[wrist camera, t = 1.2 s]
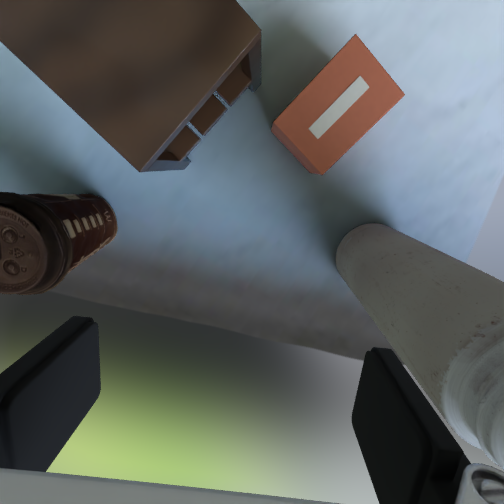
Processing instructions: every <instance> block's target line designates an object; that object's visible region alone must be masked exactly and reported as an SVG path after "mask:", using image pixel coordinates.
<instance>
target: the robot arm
mask: <svg viewBox="0 0 504 504" xmlns="http://www.w3.org/2000/svg"><path fill="white" fill-rule="evenodd" d="M100 390H101V382H100V358H99V336H98V324H97V323H96V322H94V321H93V319H92V318H90V317H80V316H73V317H71V318H70V319H69V320H68V321H66V322H65V323H64V324H63V325H61V326H60V327H59V328H58V329H56V330H55V331H54V332H52V333H51V334H50V335H49V336H47V337H46V338H45V339H44V340H42V341H41V342H40V343H39V344H37V345H36V346H35V347H34V348H32V349H31V350H30V351H29V352H27V353H26V354H25V355H24V356H22V357H21V358H20V359H19V360H17V361H16V362H15V363H14V364H12V365H11V366H10V367H9V368H7V369H6V370H5V371H3V372H2V373H1V374H0V504H339V503H330V502H321V501H313V500H304V499H295V498H286V497H278V496H269V495H260V494H251V493H242V492H233V491H232V492H231V491H223V490H214V489H205V488H195V487H186V486H177V485H167V484H158V483H149V482H139V481H128V480H119V479H108V478H99V477H89V476H80V475H69V474H60V473H49V472H46V471H47V469H48V468H49V466H50V465H51V463H52V462H53V460H54V459H55V458H56V456H57V455H58V454H59V452H60V451H61V449H62V448H63V447H64V445H65V444H66V442H67V441H68V440H69V438H70V437H71V435H72V434H73V432H74V431H75V430H76V428H77V427H78V425H79V424H80V422H81V421H82V420H83V418H84V417H85V416H86V414H87V413H88V411H89V410H90V409H91V407H92V406H93V404H94V403H95V401H96V400H97V398H98V396H99V394H100ZM352 425H353V428H354V431H355V434H356V437H357V440H358V443H359V446H360V449H361V451H362V454H363V457H364V460H365V463H366V466H367V469H368V472H369V475H370V477H371V480H372V483H373V486H374V489H375V492H376V495H377V498H378V501H379V504H504V472H502V471H501V470H498V469H496V468H494V467H492V466H489V465H485V464H479V463H473V464H471V463H470V461H469V460H468V459H467V457H466V456H465V454H464V453H463V450H462V449H461V447H460V446H459V444H458V443H457V442H456V440H455V439H454V438H453V436H452V435H451V433H450V432H449V430H448V429H447V427H446V426H445V425H444V423H443V422H442V420H441V419H440V418H439V416H438V415H437V413H436V412H435V411H434V409H433V408H432V406H431V405H430V403H429V402H428V401H427V399H426V398H425V396H424V395H423V393H422V392H421V390H420V389H419V388H418V386H417V385H416V384H415V382H414V381H413V379H412V378H411V376H410V375H409V373H408V372H407V371H406V369H405V368H404V366H403V365H402V363H401V362H400V361H399V359H398V358H397V356H396V355H395V353H394V352H393V351H392V350H391V349H386V348H377V347H373V348H372V350H371V351H367V352H366V355H365V359H364V364H363V368H362V373H361V377H360V381H359V385H358V390H357V395H356V399H355V403H354V408H353V412H352Z"/></svg>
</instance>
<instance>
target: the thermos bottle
mask: <svg viewBox="0 0 504 504" xmlns="http://www.w3.org/2000/svg"><path fill="white" fill-rule="evenodd" d="M336 266H337V269H338V272H339V274H340V275H341V277H342V278H343V279H344V281H345V282H346V284H347V285H348V286H349V288H350V289H351V290H352V292H353V293H354V295H355V296H356V297H357V299H358V300H359V301H360V303H361V304H362V306H363V307H364V308H365V310H366V311H367V312H368V314H369V315H370V317H371V318H372V319H373V321H374V322H375V323H376V325H377V326H378V328H379V329H380V330H381V332H382V333H383V334H384V336H385V337H386V339H387V340H388V341H389V343H390V344H391V346H392V347H393V348H394V350H395V351H396V352H397V354H398V355H399V357H400V358H401V359H402V361H403V362H404V363H405V365H406V366H407V367H408V369H409V370H410V372H411V373H412V374H413V376H414V377H415V379H416V380H417V381H418V383H419V384H420V385H421V387H422V388H423V390H424V391H425V392H426V394H427V395H428V396H429V398H430V399H431V400H432V402H433V403H434V405H435V406H436V407H437V409H438V410H439V412H440V413H441V414H442V416H443V417H444V419H445V420H446V421H447V423H448V424H449V425H450V427H451V428H452V430H454V432H455V433H456V434H458V435H459V436H460V437H461V438H462V439H463V440H464V441H466V442H468V443H469V444H472V445H473V446H475V447H476V448H479V449H482V450H483V451H484V452H485V454H486V456H487V457H489V458H490V459H491V460H492V461H493V462H494V463H495V464H496V465H498V466H500V467H501V468H502V469H503V470H504V282H502V281H500V280H499V279H496V278H495V277H493V276H491V275H489V274H487V273H484V272H482V271H480V270H478V269H476V268H474V267H472V266H470V265H468V264H466V263H464V262H462V261H460V260H457V259H455V258H453V257H451V256H449V255H447V254H445V253H443V252H441V251H439V250H437V249H434V248H432V247H430V246H428V245H426V244H424V243H422V242H420V241H418V240H416V239H414V238H411V237H409V236H407V235H405V234H403V233H401V232H399V231H397V230H395V229H393V228H391V227H388V226H386V225H383V224H377V223H369V224H364V225H361V226H358V227H356V228H354V229H353V230H351V231H350V232H349V233H348V234H347V235H345V236H344V238H343V239H342V241H341V242H340V244H339V246H338V248H337V252H336Z"/></svg>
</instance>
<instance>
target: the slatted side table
mask: <svg viewBox="0 0 504 504" xmlns="http://www.w3.org/2000/svg"><path fill="white" fill-rule="evenodd" d="M0 41H1V42H2V43H3V44H4V45H5V46H6V47H7V48H8V49H9V50H10V51H11V52H12V53H13V54H14V55H15V56H17V57H18V58H19V59H20V60H21V61H22V62H23V63H24V64H25V65H26V66H27V67H28V68H29V69H30V70H31V71H32V72H34V73H35V74H36V75H37V76H38V77H39V78H40V79H41V80H42V81H43V82H44V83H45V84H46V85H47V86H48V87H49V88H51V89H52V90H53V91H54V92H55V93H56V94H57V95H58V96H59V97H60V98H61V99H62V100H63V101H64V102H65V103H66V104H68V105H69V106H70V107H71V108H72V109H73V110H74V111H75V112H76V113H77V114H78V115H79V116H80V117H81V118H82V119H83V120H85V121H86V122H87V123H88V124H89V125H90V126H91V127H92V128H93V129H94V130H95V131H96V132H97V133H98V134H99V135H100V136H102V137H103V138H104V139H105V140H106V141H107V142H108V143H109V144H110V145H111V146H112V147H113V148H114V149H115V150H116V151H117V152H118V153H120V154H121V155H122V156H123V157H124V158H125V159H126V160H127V161H128V162H129V163H130V164H131V165H132V166H133V167H134V168H135V169H137V170H138V171H139V172H148V171H166V170H183V169H185V168H186V167H187V166H188V165H189V164H190V162H191V161H190V160H189V159H188V158H187V157H186V156H187V155H188V154H189V153H190V152H191V151H192V150H193V149H194V147H195V146H196V145H197V144H198V143H199V142H200V141H201V138H200V137H199V136H198V135H197V134H196V133H195V132H194V131H193V130H192V129H191V128H190V127H189V126H188V125H187V123H188V122H190V123H191V124H192V125H193V126H194V127H195V128H196V129H197V130H198V131H199V132H200V133H201V134H202V135H204V136H205V135H206V134H207V133H208V132H209V130H210V129H211V128H212V127H213V126H214V125H215V124H216V123H217V121H218V120H219V119H220V118H221V117H222V116H223V115H224V113H225V112H226V111H227V109H226V107H225V106H224V105H223V104H222V103H221V102H220V101H219V100H218V99H217V98H216V97H215V96H214V95H213V93H214V92H215V91H216V92H217V93H218V94H219V95H220V96H221V97H222V98H223V99H224V100H225V101H226V102H227V103H228V104H229V105H230V106H232V105H233V103H234V102H235V101H236V100H237V99H238V98H239V97H240V95H241V94H242V93H243V92H244V91H245V90H246V89H247V88H249V89H250V90H251V91H252V92H254V91H255V90H256V89H257V88H258V86H259V85H260V84H261V29H260V28H259V27H258V25H257V24H256V23H255V22H254V21H253V20H252V19H251V17H250V16H249V15H248V14H247V13H246V12H245V10H244V9H243V8H242V7H241V6H240V5H239V4H238V2H237V1H236V0H0Z"/></svg>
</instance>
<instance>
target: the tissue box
mask: <svg viewBox="0 0 504 504" xmlns="http://www.w3.org/2000/svg"><path fill="white" fill-rule="evenodd" d="M404 95H405V94H404V93H403V91H402V90H401V89H400V88H399V87H398V85H397V84H396V83H395V82H394V80H393V79H392V78H391V77H390V75H389V74H388V73H387V72H386V70H385V69H384V68H383V67H382V66H381V64H380V63H379V62H378V61H377V59H376V58H375V57H374V56H373V54H372V53H371V52H370V51H369V50H368V48H367V47H366V46H365V45H364V43H363V42H362V41H361V40H360V38H359V37H358V36H357V35H356V34H355V35H354V36H353V37H352V38H351V39H350V40H349V41H348V42H347V43H346V45H345V46H344V47H343V48H342V49H341V50H340V51H339V52H338V53H337V54H336V55H335V56H334V57H333V58H332V60H331V61H330V62H329V63H328V64H327V65H326V66H325V67H324V68H323V69H322V70H321V71H320V72H319V73H318V74H317V76H316V77H315V78H314V79H313V80H312V81H311V82H310V83H309V84H308V85H307V86H306V87H305V88H304V89H303V90H302V92H301V93H300V94H299V95H298V96H297V97H296V98H295V99H294V100H293V101H292V102H291V103H290V104H289V105H288V107H287V108H286V109H285V110H284V111H283V112H282V113H281V114H280V115H279V116H278V117H277V118H276V119H275V120H274V122H273V125H272V129H271V132H272V133H273V134H274V135H275V136H276V137H277V138H278V139H279V140H280V141H281V142H282V143H283V144H284V146H285V147H286V148H287V149H288V150H289V151H290V152H291V153H292V154H293V155H294V156H295V157H296V158H297V160H298V161H299V162H300V163H301V164H302V165H303V166H304V167H305V168H306V169H307V170H308V171H309V172H310V173H314V174H320V175H323V174H324V173H325V172H326V171H327V170H328V169H329V168H330V167H331V166H332V165H333V164H334V163H335V162H337V161H338V160H339V159H340V158H341V157H342V156H343V155H344V154H345V153H346V152H347V151H348V150H349V149H350V148H351V147H352V146H353V145H354V144H355V143H356V142H357V141H358V140H359V139H360V138H361V137H362V136H363V135H364V134H365V133H366V132H367V131H368V130H369V129H370V128H372V127H373V126H374V125H375V124H376V123H377V122H378V121H379V120H380V119H381V118H382V117H383V116H384V115H385V114H386V113H387V112H388V111H389V110H390V109H391V108H392V107H393V106H394V105H395V104H396V103H397V102H398V101H399V100H400V99H401V98H402V97H403V96H404Z"/></svg>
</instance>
